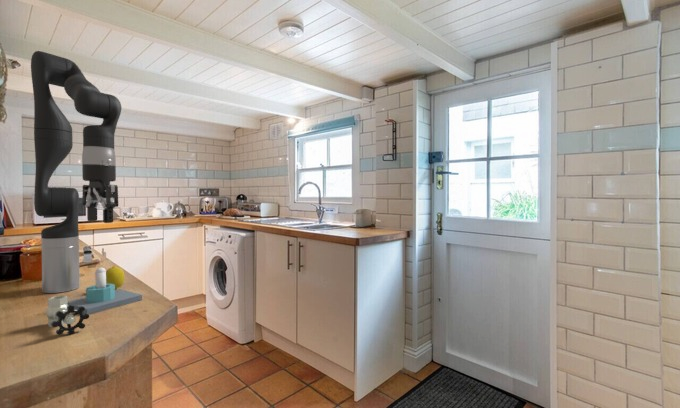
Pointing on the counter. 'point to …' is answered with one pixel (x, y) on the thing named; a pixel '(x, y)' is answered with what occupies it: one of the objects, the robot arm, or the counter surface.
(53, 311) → the valve
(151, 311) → the counter surface
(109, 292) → the collar
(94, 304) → the post stand
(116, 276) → the lemon
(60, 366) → the counter surface
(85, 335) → the counter surface
